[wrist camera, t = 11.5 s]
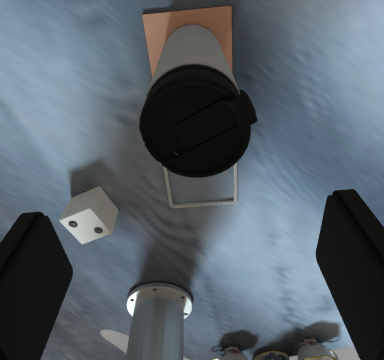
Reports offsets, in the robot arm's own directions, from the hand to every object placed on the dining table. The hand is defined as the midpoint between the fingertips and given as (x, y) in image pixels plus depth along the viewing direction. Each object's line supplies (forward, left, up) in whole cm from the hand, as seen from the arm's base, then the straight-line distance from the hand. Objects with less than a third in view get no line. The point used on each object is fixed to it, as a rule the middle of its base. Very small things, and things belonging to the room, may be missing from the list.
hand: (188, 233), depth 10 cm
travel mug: (0, 0, -27) cm, 27 cm away
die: (-20, +16, -28) cm, 38 cm away
